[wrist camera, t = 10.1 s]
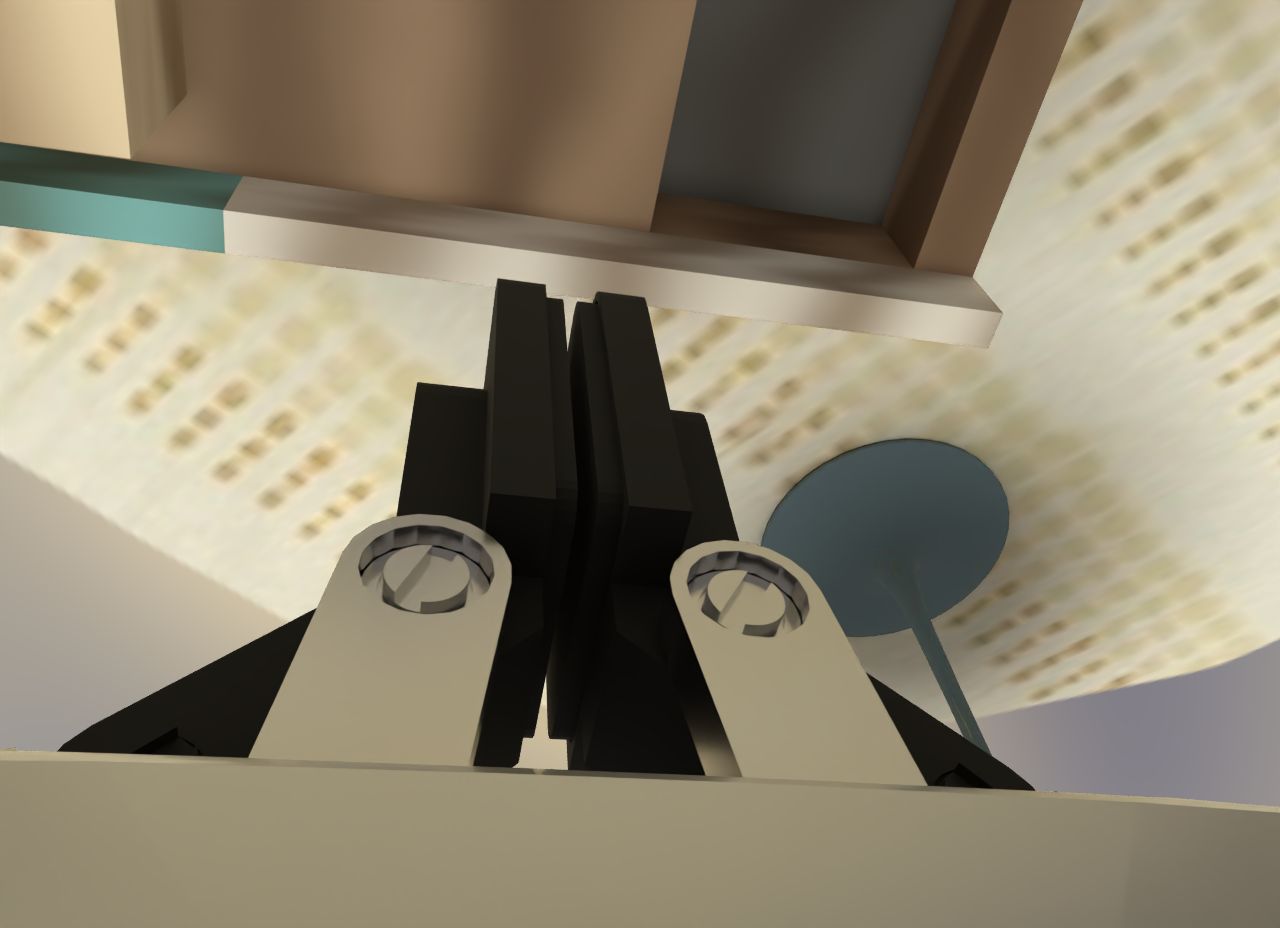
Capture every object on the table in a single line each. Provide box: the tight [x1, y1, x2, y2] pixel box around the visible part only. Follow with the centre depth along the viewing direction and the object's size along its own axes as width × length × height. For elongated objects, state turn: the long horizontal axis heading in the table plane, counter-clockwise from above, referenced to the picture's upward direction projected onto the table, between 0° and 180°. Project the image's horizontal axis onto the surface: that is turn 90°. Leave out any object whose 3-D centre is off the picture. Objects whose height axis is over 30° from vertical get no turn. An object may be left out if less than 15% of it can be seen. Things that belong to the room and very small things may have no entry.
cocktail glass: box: [761, 439, 1009, 756], centre depth 34 cm, size 18×18×25 cm
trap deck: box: [0, 0, 1083, 348], centre depth 27 cm, size 32×13×6 cm, turn 79°
